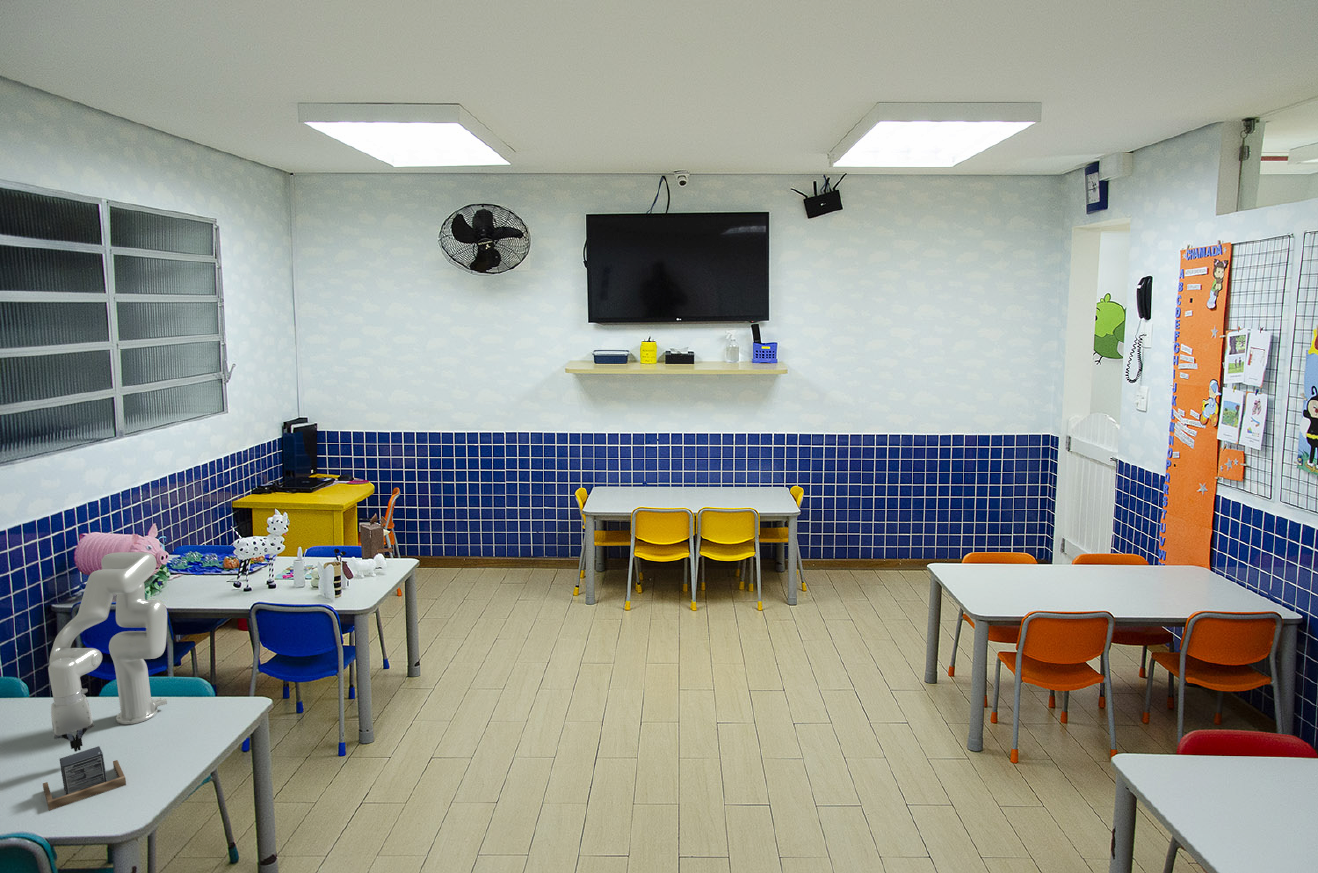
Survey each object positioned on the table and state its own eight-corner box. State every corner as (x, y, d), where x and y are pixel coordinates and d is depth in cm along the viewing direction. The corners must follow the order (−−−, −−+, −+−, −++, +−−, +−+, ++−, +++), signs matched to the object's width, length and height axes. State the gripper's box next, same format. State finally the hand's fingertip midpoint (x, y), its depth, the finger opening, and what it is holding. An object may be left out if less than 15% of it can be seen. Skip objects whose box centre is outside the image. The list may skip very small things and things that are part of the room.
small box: (104, 775, 264) (99, 744, 262) (108, 784, 259) (103, 753, 257) (63, 789, 257) (58, 757, 255) (66, 798, 252) (62, 766, 250)
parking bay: (118, 767, 268) (117, 760, 268) (126, 785, 259) (125, 777, 258) (43, 791, 256) (42, 783, 255) (49, 810, 246) (48, 803, 246)
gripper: (94, 684, 273) (102, 735, 277) (37, 700, 264) (47, 753, 268) (98, 693, 268) (106, 745, 272) (40, 710, 258) (50, 763, 262)
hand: (77, 749), depth 270 cm, fingers closed
